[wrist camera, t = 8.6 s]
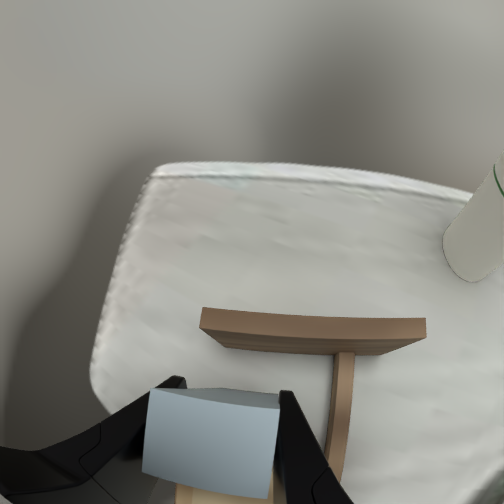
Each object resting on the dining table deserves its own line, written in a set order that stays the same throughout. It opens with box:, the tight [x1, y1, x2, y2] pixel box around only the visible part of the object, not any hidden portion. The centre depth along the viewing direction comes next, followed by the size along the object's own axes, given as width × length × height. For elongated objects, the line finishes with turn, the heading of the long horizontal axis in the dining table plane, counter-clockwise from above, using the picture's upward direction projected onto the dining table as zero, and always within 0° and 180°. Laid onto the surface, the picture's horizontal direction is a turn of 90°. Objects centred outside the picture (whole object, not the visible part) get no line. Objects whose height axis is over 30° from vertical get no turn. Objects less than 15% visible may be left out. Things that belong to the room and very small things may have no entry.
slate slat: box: [142, 388, 280, 499], centre depth 9 cm, size 2×3×10 cm
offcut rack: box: [174, 307, 426, 504], centre depth 14 cm, size 17×16×8 cm
